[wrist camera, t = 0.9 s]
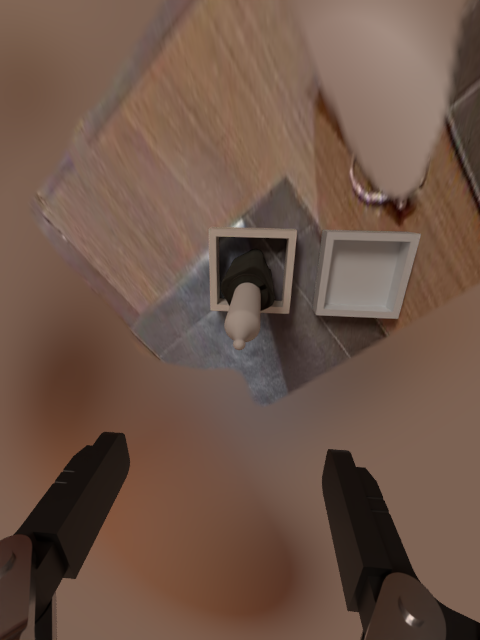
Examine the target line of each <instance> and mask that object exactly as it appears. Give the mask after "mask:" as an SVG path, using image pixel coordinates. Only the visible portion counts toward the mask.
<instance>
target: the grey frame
mask: <svg viewBox="0 0 480 640" xmlns="http://www.w3.org/2000/svg"><path fill="white" fill-rule="evenodd" d="M219 236H220V237H256V238H287V243H286V255H285V267H284V279H283V291H282V301H274V303H273V305H272V306H271V307H269V308H267V309H265V310H262V311H260V313H280V314H289V309H290V299H291V289H292V279H293V268H294V258H295V248H296V237H297V230H295V229H273V228H234V227H211V228H209V264H210V303H211V310H213V311H228V310H229V307H230V306H229V304H228V303H227V301H226V299H223V298H220V268H219Z"/></svg>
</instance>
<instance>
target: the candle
mask: <svg viewBox="0 0 480 640" xmlns="http://www.w3.org/2000/svg"><path fill="white" fill-rule="evenodd" d="M221 291H222V293H223V295H224V297H225V299H226V301H227V303H228V304H229V306H230V307H229V310H228V313H227V316H226V320H225V331H226V333H227V335H228V336H229V337H230V338H231V339H232V340H234V343H233V346H234V348H235V349H237V350H242V349H243V348H244V347H245V342H249V341H251V340H253V339H254V338H255V337H256V336H257V335H258V333H259V330H260V311H262V310H265V309H267V308H269V307H271V306H272V305H273V303H274V300H275V299H274V290H273V283H272V275H271V270H270V269H269V268H268V266H267V264H266V262H265V260H264V258H263V253H262V252H261V251H260V250H258V249H253V250H251V251H249V252H247V253H245V254H243V255H241V256H239V257H237V258H235V259H234V260H233V262H232V264H231V266H230V268H229V270H228V272H227V274H226V276H225V278H224V280H223V282H222V284H221Z"/></svg>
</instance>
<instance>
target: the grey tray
mask: <svg viewBox="0 0 480 640" xmlns="http://www.w3.org/2000/svg"><path fill="white" fill-rule="evenodd" d="M420 236H421V234H418V233H412V232H390V231H351V230H323V232H322V240H321V247H320V255H319V262H318V270H317V277H316V285H315V292H314V300H313V307H312V308H313V310H314V312H315V314H316V315H324V316H346V317H368V318H391V319H398V317H399V314H400V310H401V306H402V303H403V299H404V295H405V291H406V288H407V284H408V280H409V277H410V273H411V269H412V266H413V262H414V258H415V255H416V251H417V247H418V243H419V240H420Z"/></svg>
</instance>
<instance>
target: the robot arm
mask: <svg viewBox="0 0 480 640" xmlns="http://www.w3.org/2000/svg"><path fill="white" fill-rule="evenodd" d="M129 466H130V458H129V453H128V448H127V443H126V438H125V435H124V434H123V433H114V432H103V433H102V434H101V435H100V436H99V438H98V439H97V440H96V442H95V443H94V445H93V446H90V445H87V446H86V447H84V448H83V449H82V450H81V451H79V452H78V453H77V454H76V455H74V456H73V458H72V459H71V460H70V462H69V463H68V464H67V466H66V467H65V468H64V471H63V472H61V473H60V475H59V476H58V477H57V479H56V480H55V483H54V484H52V485H51V487H50V488H49V489H48V491H47V492H46V494H45V495H44V496H43V497H42V499H41V500H40V501H39V503H38V504H37V505H36V507H35V508H34V509H33V511H32V512H31V513H30V515H29V516H28V518H27V519H26V520H25V521H24V523H23V524H22V525H21V527H20V528H19V529H18V530H17V532H16V533H15V534H14V535H12V536H9V537H6V538H4V539H2V540H0V640H57V623H56V622H57V620H56V619H57V618H56V592H55V591H56V589H57V588H58V586H59V584H60V582H61V580H62V578H71V579H76V577H77V575H78V573H79V571H80V569H81V567H82V565H83V563H84V561H85V559H86V557H87V555H88V553H89V551H90V549H91V547H92V545H93V543H94V541H95V539H96V537H97V535H98V533H99V531H100V529H101V527H102V525H103V523H104V521H105V519H106V517H107V515H108V513H109V511H110V509H111V507H112V505H113V503H114V501H115V499H116V497H117V495H118V493H119V491H120V489H121V487H122V485H123V483H124V481H125V479H126V477H127V474H128V471H129ZM322 489H323V496H324V501H325V505H326V510H327V515H328V520H329V524H330V529H331V534H332V539H333V544H334V548H335V553H336V558H337V562H338V567H339V572H340V577H341V581H342V586H343V591H344V596H345V601H346V605H347V610H348V611H354V612H359V614H360V619H361V623H362V627H363V632H362V634H361V637H360V640H480V623H479V622H476V621H474V620H472V619H470V618H468V617H466V616H464V615H462V614H460V613H458V612H456V611H453V610H452V609H450V608H448V607H446V606H445V605H443V604H442V603H440V602H439V601H438V600H437V599H436V598H434V597H433V595H432V594H431V593H430V592H429V590H428V589H426V587H425V586H424V585H423V584H421V582H420V581H419V579H418V578H417V576H416V574H415V572H414V571H413V569H412V566H411V564H410V561H409V559H408V556H407V554H406V551H405V549H404V547H403V544H402V542H401V539H400V537H399V535H398V533H397V530H396V527H395V525H394V523H393V520H392V518H391V515H390V514H389V510H388V508H387V506H386V504H385V501H384V500H383V496H382V493H381V491H380V489H379V486H378V484H377V482H376V480H375V479H374V478H373V477H372V475H371V474H370V473H369V472H368V470H367V469H366V468H361V467H356V466H355V463H354V461H353V458H352V455H351V453H350V452H349V451H346V450H333V449H328V451H327V455H326V460H325V465H324V470H323V476H322Z"/></svg>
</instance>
